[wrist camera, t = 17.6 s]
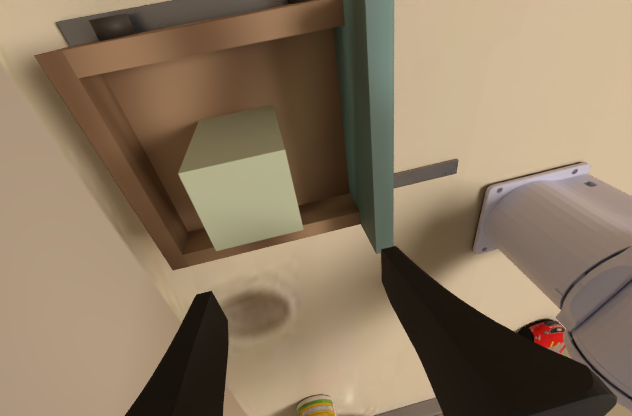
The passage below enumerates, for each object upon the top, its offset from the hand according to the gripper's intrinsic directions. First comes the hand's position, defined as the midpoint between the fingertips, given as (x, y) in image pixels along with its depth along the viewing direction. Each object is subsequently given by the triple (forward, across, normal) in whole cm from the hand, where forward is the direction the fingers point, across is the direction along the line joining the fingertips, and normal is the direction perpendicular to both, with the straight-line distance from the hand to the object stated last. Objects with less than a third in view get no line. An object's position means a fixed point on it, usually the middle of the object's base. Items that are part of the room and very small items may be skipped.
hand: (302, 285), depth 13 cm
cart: (+10, +1, -4) cm, 11 cm away
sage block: (+8, +1, -3) cm, 9 cm away
